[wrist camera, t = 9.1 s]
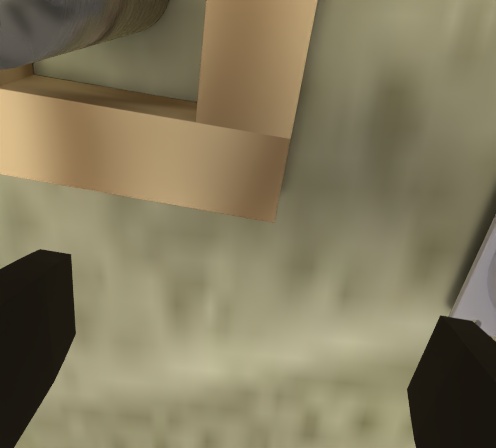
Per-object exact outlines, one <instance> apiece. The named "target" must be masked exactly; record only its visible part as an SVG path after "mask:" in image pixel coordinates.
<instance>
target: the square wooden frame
mask: <svg viewBox="0 0 496 448" xmlns="http://www.w3.org/2000/svg"><path fill="white" fill-rule="evenodd" d="M316 6H317V0H206V10H205V22H204V33H203V44H202V56H201V67H200V79H199V90H198V102H197V103H196V102H190V101H184V100H178V99H172V98H167V97H161V96H155V95H149V94H143V93H137V92H132V91H126V90H120V89H114V88H108V87H102V86H96V85H91V84H85V83H79V82H73V81H67V80H61V79H56V78H50V77H44V76H38V75H33V64H32V63H30V64H26V65H23V66H20V67H16V68H11V69H0V174H3V175H9V176H15V177H20V178H26V179H31V180H37V181H43V182H48V183H54V184H59V185H65V186H71V187H76V188H82V189H88V190H93V191H99V192H104V193H110V194H116V195H121V196H127V197H132V198H138V199H144V200H149V201H155V202H160V203H166V204H172V205H177V206H183V207H189V208H194V209H200V210H205V211H211V212H217V213H222V214H228V215H233V216H239V217H245V218H250V219H256V220H261V221H267V222H273V223H274V222H275V217H276V212H277V206H278V201H279V196H280V191H281V186H282V181H283V175H284V170H285V165H286V160H287V155H288V150H289V145H290V139H291V134H292V129H293V124H294V119H295V114H296V109H297V103H298V98H299V93H300V88H301V83H302V78H303V73H304V67H305V62H306V57H307V52H308V47H309V42H310V36H311V31H312V26H313V21H314V16H315V11H316Z"/></svg>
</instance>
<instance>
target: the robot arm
mask: <svg viewBox="0 0 496 448" xmlns="http://www.w3.org/2000/svg"><path fill="white" fill-rule="evenodd" d="M472 320H477V321H476V322H475V323H474V322H473V321H472ZM75 334H76V330H75V313H74V297H73V280H72V263H71V254H65V253H59V252H53V251H47V250H41V249H40V250H37V251H35V252H33V253H31V254H29V255H27V256H25V257H23V258H21V259H19V260H17V261H15V262H13V263H11V264H9V265H7V266H5V267H3V268H2V269H0V448H14V447H15V445H16V443H17V442H18V440H19V439H20V437H21V435H22V434H23V432H24V430H25V429H26V427H27V426H28V424H29V422H30V421H31V419H32V417H33V416H34V414H35V412H36V411H37V409H38V408H39V406H40V404H41V403H42V401H43V399H44V398H45V396H46V394H47V393H48V391H49V389H50V388H51V386H52V384H53V383H54V381H55V379H56V377H57V375H58V372H59V370H60V368H61V366H62V364H63V362H64V360H65V357H66V355H67V353H68V351H69V348H70V346H71V344H72V341H73V339H74V337H75ZM490 336H491V337H496V215H495V217H494V219H493V221H492V223H491V226H490V228H489V230H488V232H487V234H486V236H485V239H484V241H483V243H482V245H481V247H480V249H479V252H478V254H477V256H476V258H475V260H474V262H473V265H472V267H471V269H470V271H469V273H468V276H467V278H466V280H465V282H464V284H463V286H462V289H461V291H460V293H459V295H458V297H457V299H456V302H455V304H454V306H453V308H452V310H451V312H450V315H449V317H446V316H440V318H439V320H438V322H437V324H436V326H435V329H434V331H433V333H432V335H431V338H430V340H429V342H428V344H427V346H426V349H425V351H424V353H423V355H422V357H421V360H420V362H419V364H418V366H417V368H416V371H415V373H414V375H413V377H412V380H411V382H410V384H409V386H408V388H407V392H408V400H409V407H410V415H411V422H412V428H413V434H414V441H415V444H416V448H496V342H495V341H494V340H493V339H492V338H491V337H490Z"/></svg>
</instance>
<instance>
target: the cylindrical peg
mask: <svg viewBox="0 0 496 448" xmlns="http://www.w3.org/2000/svg"><path fill="white" fill-rule="evenodd" d="M168 2H169V0H0V69H11V68H16V67H20V66H23V65H26V64H30V63H33V62H37V61H40V60H44V59H47V58H50V57H54V56H57V55H61V54H64V53H68V52H71V51H74V50H78V49H81V48H85V47H88V46H92V45H95V44H98V43H102V42H105V41H109V40H112V39H116V38H119V37H122V36H126V35H129V34H133V33H136V32H140V31H142V30H145V29H147V28H149V27H150V26H152V25H153V24H154V23H156V22H157V20H158V19H159V18H160V17H161V16H162V14H163V13H164V11H165V9H166V7H167V4H168Z"/></svg>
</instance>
